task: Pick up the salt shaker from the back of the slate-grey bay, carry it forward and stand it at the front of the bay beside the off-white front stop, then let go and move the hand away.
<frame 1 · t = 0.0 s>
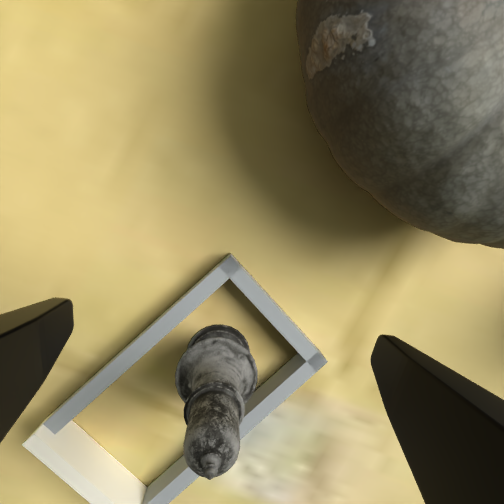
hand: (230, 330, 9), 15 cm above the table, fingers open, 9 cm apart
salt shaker: (218, 354, 25), resting in bay
bay: (187, 383, 25), on the table
gourd: (428, 86, 24), on the table
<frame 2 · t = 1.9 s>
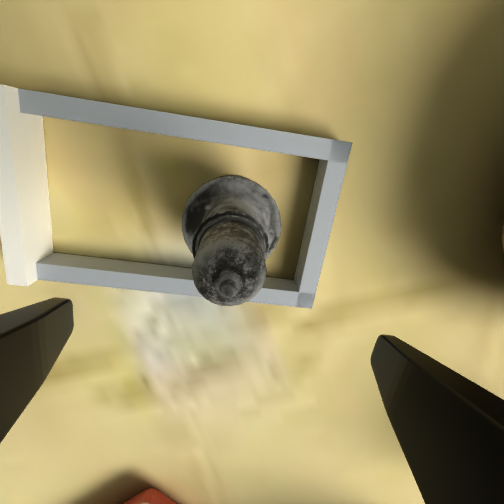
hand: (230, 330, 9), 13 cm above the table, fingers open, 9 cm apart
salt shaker: (232, 213, 21), resting in bay
bay: (182, 207, 21), on the table
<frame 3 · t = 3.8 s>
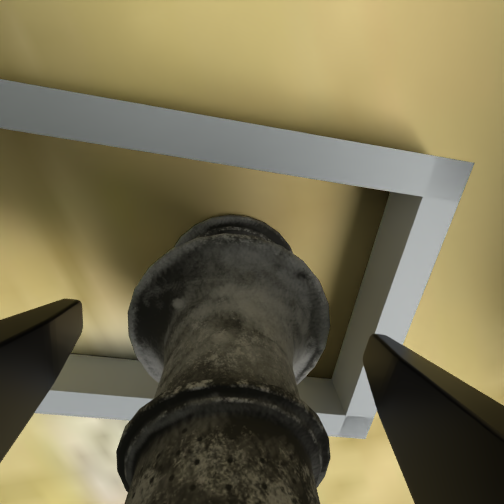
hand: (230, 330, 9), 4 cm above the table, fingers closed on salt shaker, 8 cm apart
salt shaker: (232, 276, 12), resting in bay, touching gripper
bay: (144, 267, 12), on the table
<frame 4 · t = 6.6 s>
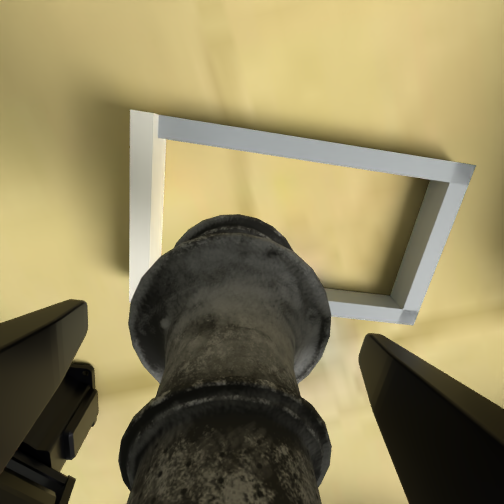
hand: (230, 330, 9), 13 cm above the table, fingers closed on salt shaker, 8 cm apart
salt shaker: (233, 276, 12), point 9 cm above the table, touching gripper
bay: (290, 225, 21), on the table
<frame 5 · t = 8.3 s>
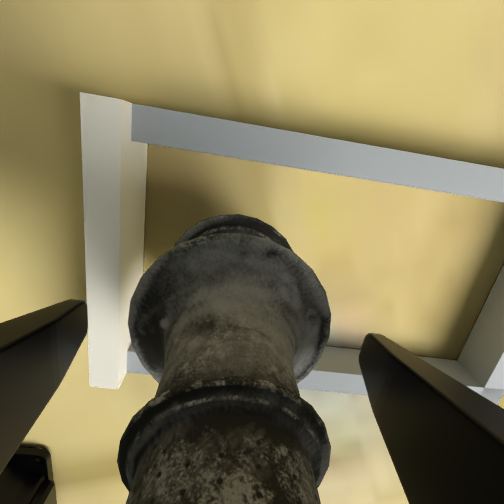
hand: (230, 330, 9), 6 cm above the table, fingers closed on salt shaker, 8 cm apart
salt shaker: (233, 276, 12), point 2 cm above the table, touching gripper
bay: (327, 268, 15), on the table
when the fingers open (5 cm above the table, at t = 9.7 s): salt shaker drops 1 cm, resting in bay.
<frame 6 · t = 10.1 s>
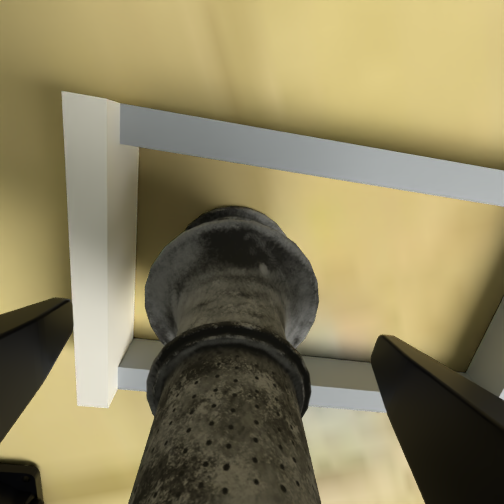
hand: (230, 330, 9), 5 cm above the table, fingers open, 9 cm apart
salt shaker: (234, 262, 14), resting in bay
bay: (329, 277, 14), on the table
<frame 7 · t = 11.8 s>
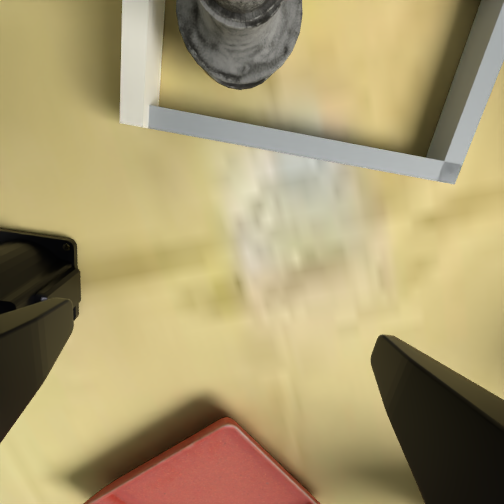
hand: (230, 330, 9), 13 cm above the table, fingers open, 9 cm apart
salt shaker: (239, 39, 17), resting in bay
bay: (314, 54, 18), on the table
plant saucer: (214, 482, 31), on the table
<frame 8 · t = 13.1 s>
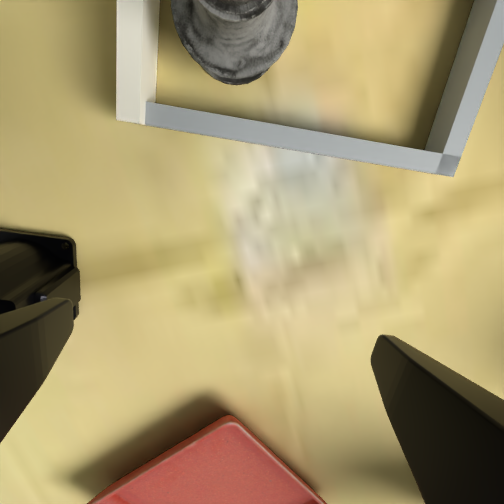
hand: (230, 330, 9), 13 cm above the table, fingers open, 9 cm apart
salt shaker: (235, 34, 17), resting in bay
bay: (310, 48, 18), on the table
plant saucer: (217, 481, 31), on the table
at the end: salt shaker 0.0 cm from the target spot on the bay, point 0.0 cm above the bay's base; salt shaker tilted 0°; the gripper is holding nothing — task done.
